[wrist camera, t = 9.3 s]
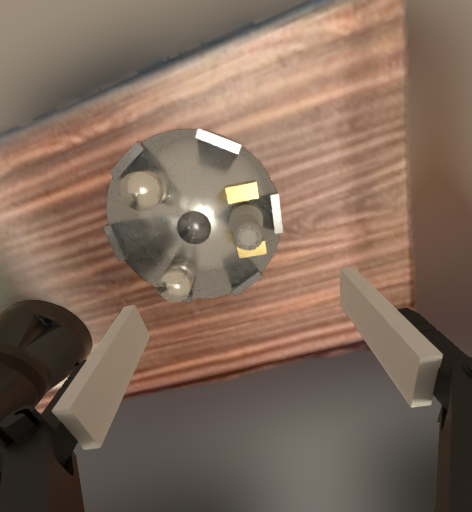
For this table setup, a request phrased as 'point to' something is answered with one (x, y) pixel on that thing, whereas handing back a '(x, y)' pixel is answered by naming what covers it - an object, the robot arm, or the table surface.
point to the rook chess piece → (247, 225)
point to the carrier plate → (189, 214)
